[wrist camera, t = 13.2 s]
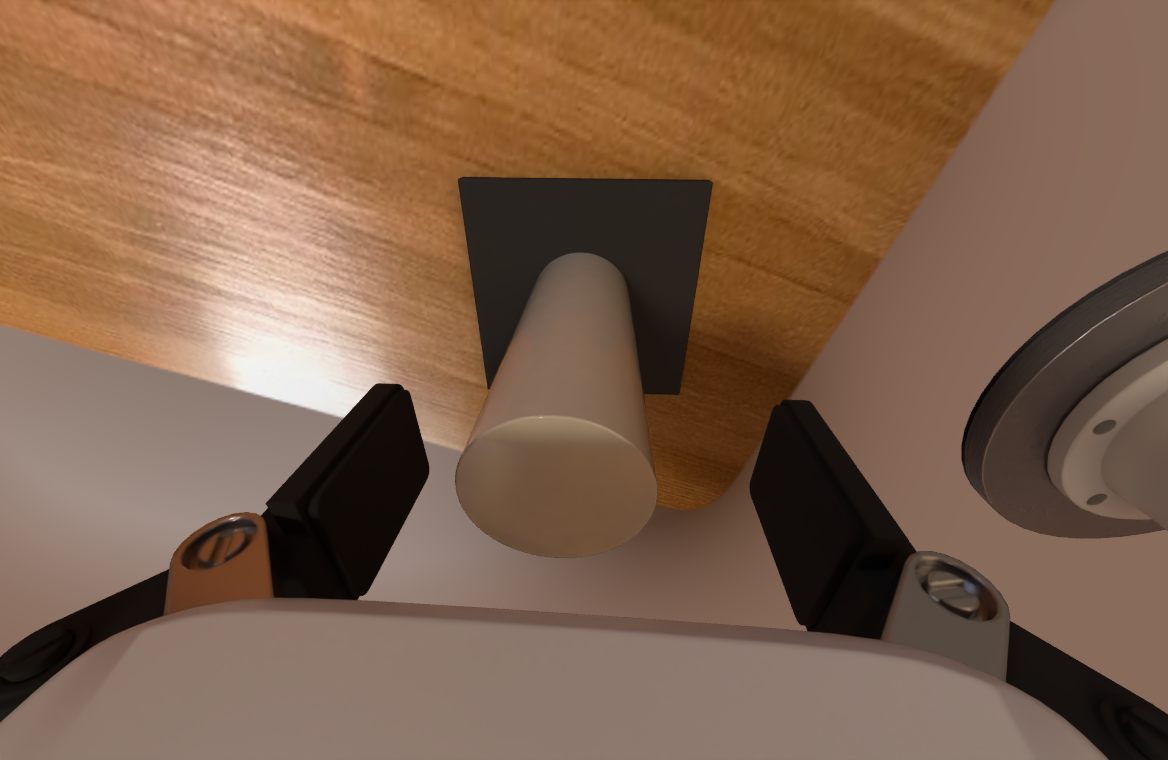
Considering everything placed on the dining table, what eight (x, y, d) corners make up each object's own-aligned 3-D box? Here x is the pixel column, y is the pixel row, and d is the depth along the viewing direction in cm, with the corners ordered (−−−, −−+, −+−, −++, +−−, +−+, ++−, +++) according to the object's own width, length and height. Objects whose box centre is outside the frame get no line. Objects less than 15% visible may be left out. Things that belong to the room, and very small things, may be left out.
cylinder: (632, 253, 17) (669, 419, 8) (626, 345, 20) (648, 562, 10) (529, 251, 18) (437, 412, 8) (535, 343, 20) (469, 555, 10)
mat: (709, 179, 16) (713, 181, 16) (677, 389, 22) (679, 395, 21) (461, 176, 17) (457, 178, 16) (490, 383, 22) (487, 389, 21)
